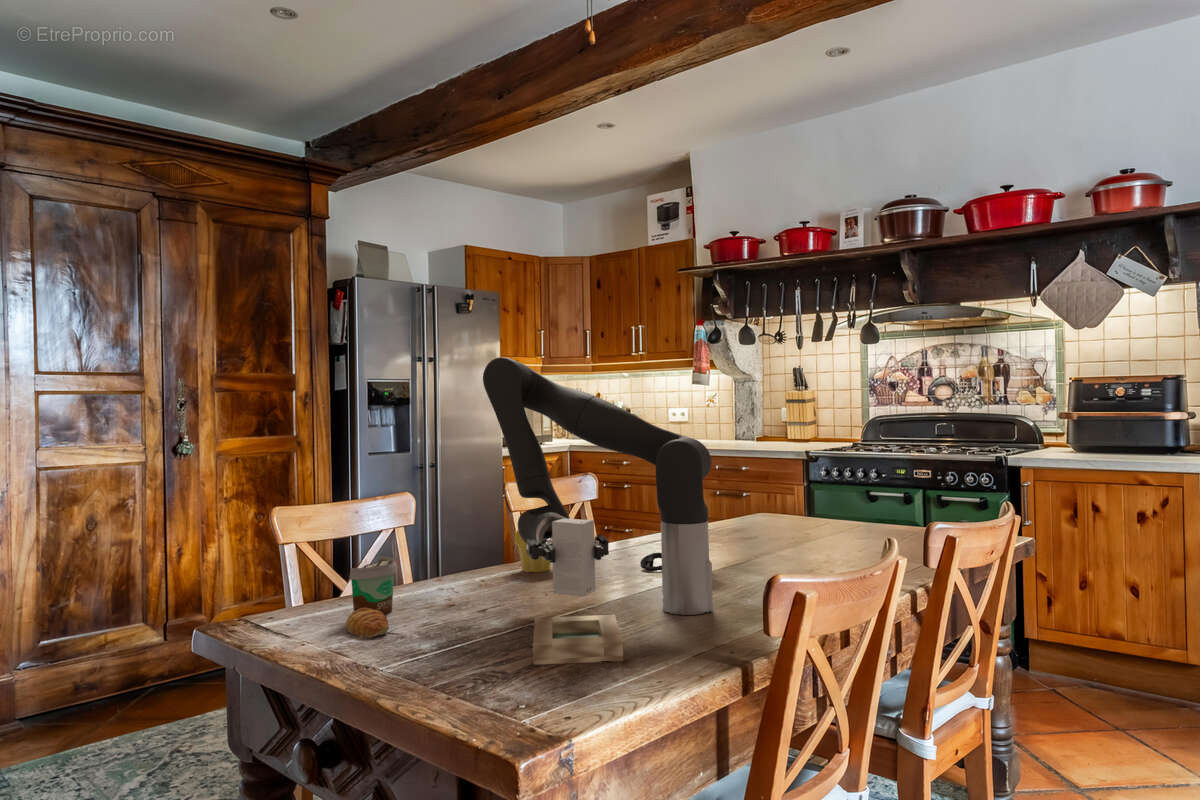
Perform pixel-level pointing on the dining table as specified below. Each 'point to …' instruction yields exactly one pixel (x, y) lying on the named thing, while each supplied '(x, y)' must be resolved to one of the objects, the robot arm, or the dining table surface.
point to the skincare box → (573, 557)
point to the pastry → (367, 623)
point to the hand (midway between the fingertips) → (576, 555)
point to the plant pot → (526, 560)
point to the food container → (374, 585)
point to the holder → (576, 640)
